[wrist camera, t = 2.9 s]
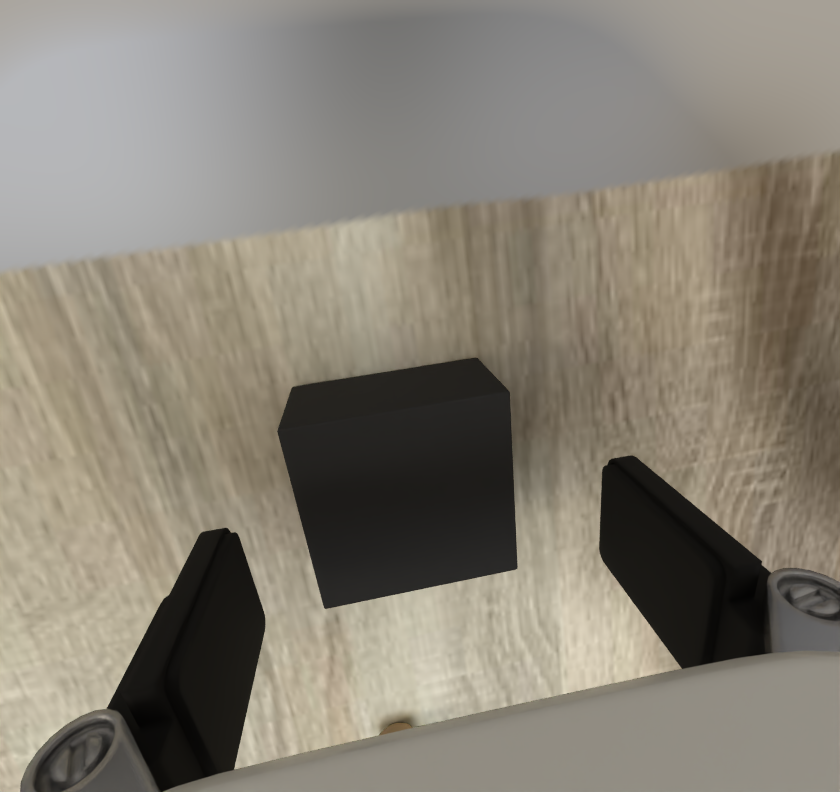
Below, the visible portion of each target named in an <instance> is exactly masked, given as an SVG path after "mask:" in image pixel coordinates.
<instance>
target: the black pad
mask: <svg viewBox="0 0 840 792" xmlns="http://www.w3.org/2000/svg"><path fill="white" fill-rule="evenodd" d="M277 432H278V435H279V439H280V443H281V447H282V451H283V454H284V458H285V462H286V466H287V469H288V473H289V477H290V481H291V485H292V488H293V492H294V496H295V500H296V503H297V507H298V511H299V515H300V519H301V522H302V526H303V530H304V534H305V537H306V541H307V545H308V549H309V553H310V556H311V560H312V564H313V568H314V571H315V575H316V579H317V583H318V587H319V590H320V594H321V598H322V602H323V605H324V608H325V609H327V608H332V607H337V606H342V605H347V604H352V603H356V602H361V601H366V600H371V599H376V598H380V597H385V596H390V595H395V594H400V593H405V592H409V591H414V590H419V589H424V588H429V587H434V586H438V585H443V584H448V583H453V582H458V581H463V580H467V579H472V578H477V577H482V576H487V575H492V574H496V573H501V572H506V571H511V570H516V569H517V546H516V524H515V502H514V479H513V457H512V435H511V412H510V392H509V391H508V390H507V388H506V387H505V386H504V385H503V384H502V383H501V382H500V381H499V380H498V379H497V378H496V377H495V376H494V375H493V374H492V373H491V372H490V371H489V370H488V369H487V368H486V367H485V365H484V364H483V363H482V362H481V361H480V360H479V359H478V358H472V359H466V360H459V361H453V362H447V363H441V364H434V365H428V366H422V367H416V368H409V369H403V370H397V371H390V372H384V373H378V374H372V375H365V376H359V377H353V378H346V379H340V380H334V381H328V382H321V383H315V384H309V385H302V386H296V387H292V390H291V392H290V395H289V398H288V401H287V404H286V407H285V410H284V413H283V416H282V419H281V422H280V425H279V428H278V431H277Z"/></svg>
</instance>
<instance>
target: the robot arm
mask: <svg viewBox="0 0 840 792" xmlns="http://www.w3.org/2000/svg"><path fill="white" fill-rule="evenodd" d="M599 550H600V555H601V557H602V560H603V562H604V563H605V565H606V566H607V567H608V569H609V570H610V571H611V573H612V574H613V575H614V577H615V578H616V580H617V581H618V582H619V584H620V585H621V586H622V588H623V589H624V590H625V592H626V593H627V594H628V596H629V597H630V599H631V600H632V601H633V603H634V604H635V605H636V607H637V608H638V609H639V611H640V612H641V613H642V615H643V616H644V618H645V619H646V620H647V622H648V623H649V624H650V626H651V627H652V628H653V630H654V631H655V632H656V634H657V635H658V637H659V638H660V639H661V641H662V642H663V643H664V645H665V646H666V647H667V649H668V650H669V651H670V653H671V654H672V656H673V657H674V658H675V660H676V661H677V662H678V664H679V665H680V666H681V668H682V669H679V670H674V671H669V672H665V673H660V674H655V675H651V676H646V677H641V678H637V679H632V680H627V681H623V682H618V683H614V684H609V685H604V686H600V687H595V688H590V689H586V690H581V691H576V692H572V693H567V694H563V695H558V696H553V697H549V698H544V699H540V700H535V701H531V702H526V703H522V704H517V705H513V706H508V707H504V708H499V709H495V710H490V711H486V712H481V713H477V714H472V715H468V716H463V717H459V718H454V719H450V720H445V721H441V722H436V723H432V724H427V725H423V726H418V727H414V728H410V729H405V730H401V731H397V732H392V733H388V734H383V735H379V736H375V737H370V738H366V739H362V740H357V741H353V742H348V743H344V744H340V745H335V746H331V747H327V748H322V749H318V750H313V751H309V752H305V753H300V754H296V755H292V756H288V757H284V758H280V759H276V760H272V761H268V762H264V763H260V764H256V765H252V766H248V767H244V768H240V769H236V770H234V767H235V762H236V758H237V753H238V749H239V744H240V740H241V735H242V731H243V726H244V722H245V717H246V713H247V708H248V704H249V699H250V695H251V690H252V686H253V681H254V677H255V672H256V668H257V663H258V659H259V654H260V650H261V645H262V641H263V636H264V632H265V614H264V611H263V608H262V605H261V602H260V599H259V596H258V593H257V590H256V587H255V584H254V581H253V578H252V575H251V572H250V569H249V566H248V563H247V560H246V557H245V554H244V551H243V548H242V544H241V541H240V538H239V536H238V534H237V533H236V532H234V533H231V532H230V531H229V529H228V528H222V529H216V530H211V531H205V532H202V533H201V534H200V535H199V537H198V539H197V541H196V543H195V545H194V547H193V549H192V551H191V553H190V555H189V557H188V559H187V561H186V563H185V565H184V567H183V569H182V571H181V573H180V575H179V577H178V579H177V581H176V583H175V585H174V587H173V589H172V591H171V593H170V595H169V596H167V597H166V598H164V600H163V601H162V603H161V604H160V606H159V608H158V610H157V612H156V614H155V616H154V618H153V620H152V621H151V623H150V625H149V627H148V629H147V631H146V633H145V635H144V637H143V639H142V641H141V643H140V645H139V647H138V649H137V651H136V653H135V655H134V657H133V659H132V660H131V662H130V664H129V666H128V668H127V670H126V672H125V674H124V676H123V678H122V680H121V682H120V684H119V686H118V688H117V690H116V692H115V694H114V696H113V698H112V699H111V701H110V703H109V705H108V707H107V709H103V710H95V711H93V712H90V713H88V714H85V715H82V716H80V717H79V718H77V719H75V720H74V721H72V722H70V723H68V724H67V725H65V726H64V727H63V728H62V729H60V730H59V731H58V732H57V733H55V734H54V735H53V736H52V737H51V738H50V739H49V740H48V741H47V742H46V743H45V744H44V745H43V746H42V747H41V748H40V749H39V750H38V752H37V753H36V754H35V756H34V757H33V759H32V760H31V762H30V763H29V765H28V766H27V768H26V771H25V773H24V776H23V778H22V781H21V789H20V792H840V582H838V581H836V580H834V579H832V578H830V577H828V576H826V575H823V574H820V573H817V572H814V571H811V570H805V569H799V568H783V569H779V570H776V571H774V572H773V573H770V572H769V571H768V570H767V569H766V568H765V567H763V566H762V565H761V564H762V561H761V560H760V559H758V558H757V557H756V556H755V555H753V554H752V553H751V552H750V551H749V550H747V549H746V548H745V547H744V546H743V545H741V544H740V543H739V542H738V541H737V540H735V539H734V538H733V537H732V536H731V535H729V534H728V533H727V532H726V531H725V530H723V529H722V528H721V527H720V526H718V525H717V524H716V523H715V522H714V521H712V520H711V519H710V518H709V517H708V516H706V515H705V514H704V513H703V512H702V511H700V510H699V509H698V508H697V507H696V506H694V505H693V504H692V503H691V502H690V501H688V500H687V499H686V498H685V497H683V496H682V495H681V494H680V493H679V492H677V491H676V490H675V489H674V488H673V487H671V486H670V485H669V484H668V483H667V482H665V481H664V480H663V479H662V478H661V477H659V476H658V475H657V474H656V473H655V472H653V471H652V470H651V469H650V468H648V467H647V466H646V465H645V464H644V463H642V462H641V461H640V460H639V459H638V458H636V457H635V456H625V457H620V458H614V459H611V460H609V462H608V465H607V466H604V467H603V470H602V492H601V517H600V542H599Z"/></svg>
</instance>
